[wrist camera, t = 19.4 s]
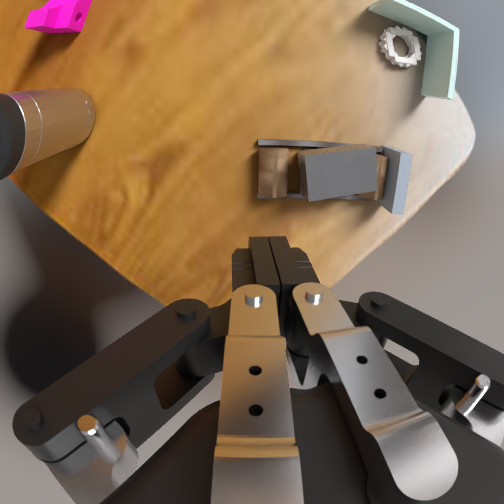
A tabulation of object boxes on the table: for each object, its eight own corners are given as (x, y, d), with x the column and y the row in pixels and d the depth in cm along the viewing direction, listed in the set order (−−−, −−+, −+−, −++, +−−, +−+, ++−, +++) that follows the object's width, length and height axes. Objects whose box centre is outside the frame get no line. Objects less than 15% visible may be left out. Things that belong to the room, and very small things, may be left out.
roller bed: (257, 196, 44) (259, 205, 40) (257, 139, 40) (260, 142, 36) (375, 198, 45) (386, 207, 42) (381, 146, 41) (393, 151, 37)
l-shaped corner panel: (368, 6, 30) (390, -6, 24) (431, 33, 32) (459, 29, 25) (360, 73, 36) (383, 70, 29) (424, 96, 37) (452, 99, 31)
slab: (301, 194, 40) (308, 202, 37) (297, 151, 37) (304, 155, 34) (366, 184, 40) (376, 190, 38) (365, 143, 38) (376, 147, 35)
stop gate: (374, 200, 45) (391, 213, 40) (381, 145, 41) (400, 152, 36) (385, 200, 45) (402, 214, 40) (392, 146, 41) (412, 154, 36)
